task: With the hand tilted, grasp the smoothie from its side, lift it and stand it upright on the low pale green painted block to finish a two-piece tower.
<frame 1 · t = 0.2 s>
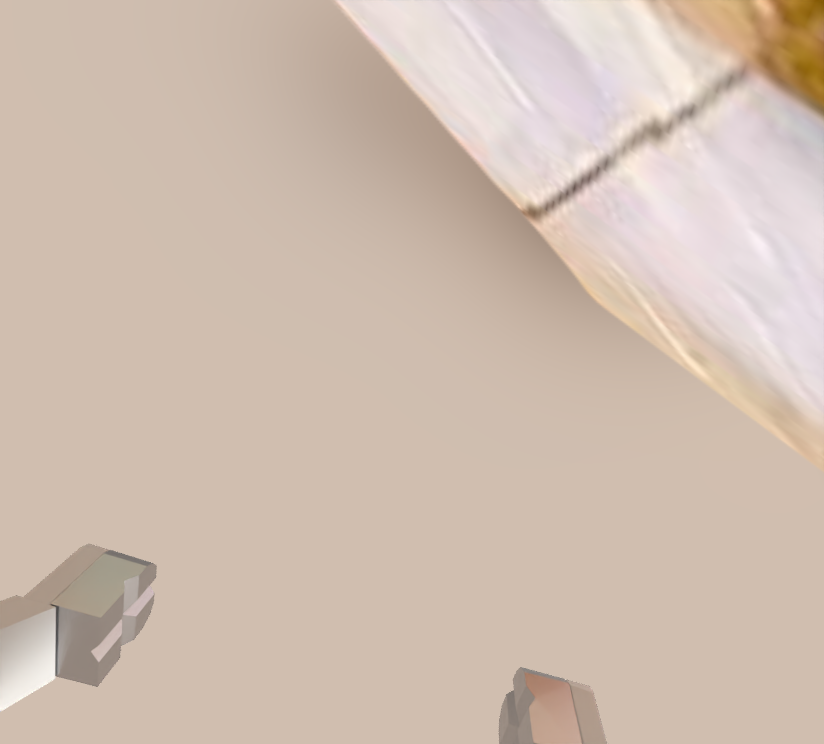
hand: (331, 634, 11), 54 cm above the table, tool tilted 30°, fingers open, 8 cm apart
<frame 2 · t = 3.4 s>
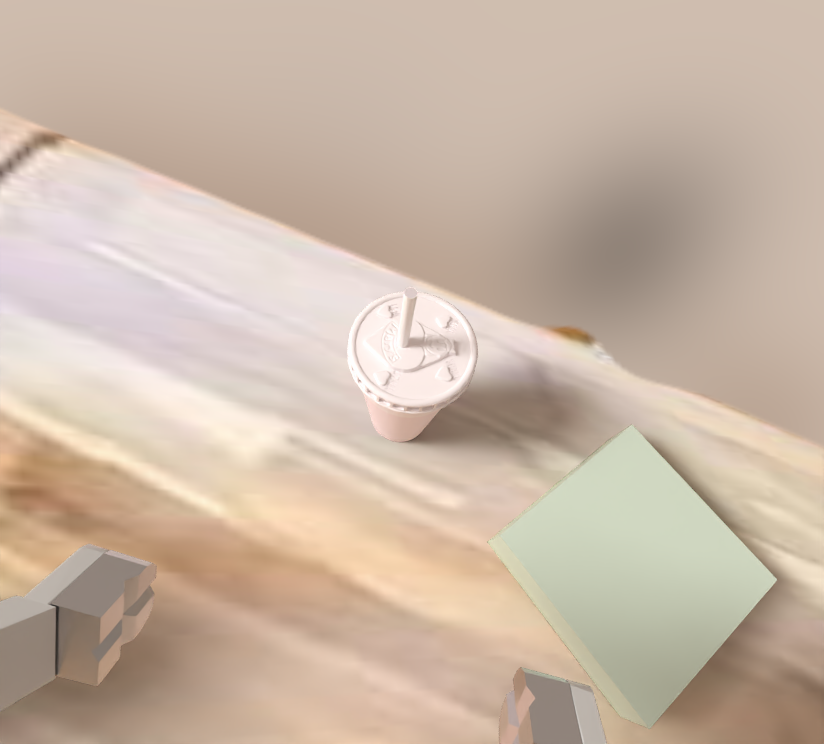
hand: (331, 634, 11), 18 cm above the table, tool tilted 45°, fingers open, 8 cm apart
pedestal: (614, 562, 30), on the table
smoothie: (399, 415, 33), on the table
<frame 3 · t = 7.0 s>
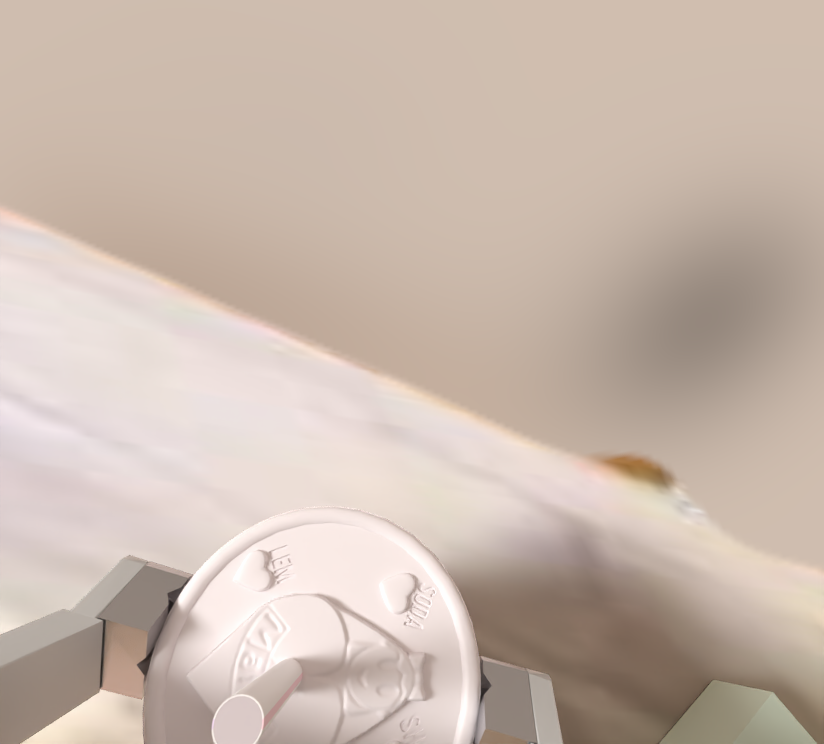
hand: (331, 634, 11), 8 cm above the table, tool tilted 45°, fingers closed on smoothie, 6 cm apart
smoothie: (338, 641, 18), on the table, touching gripper
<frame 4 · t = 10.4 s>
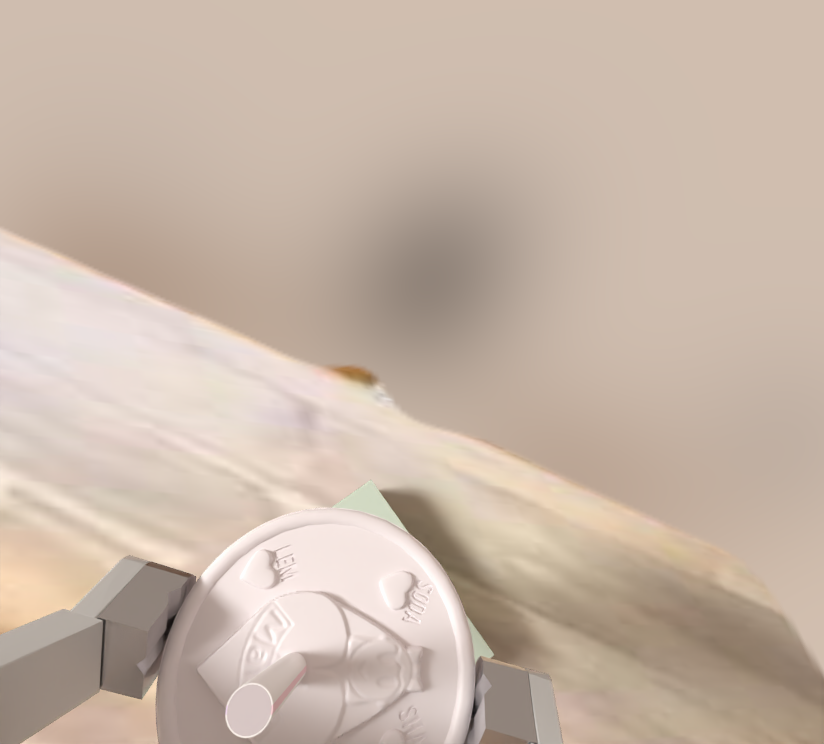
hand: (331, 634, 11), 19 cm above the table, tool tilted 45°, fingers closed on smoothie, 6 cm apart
pedestal: (345, 628, 28), on the table
smoothie: (339, 637, 19), point 10 cm above the table, touching gripper
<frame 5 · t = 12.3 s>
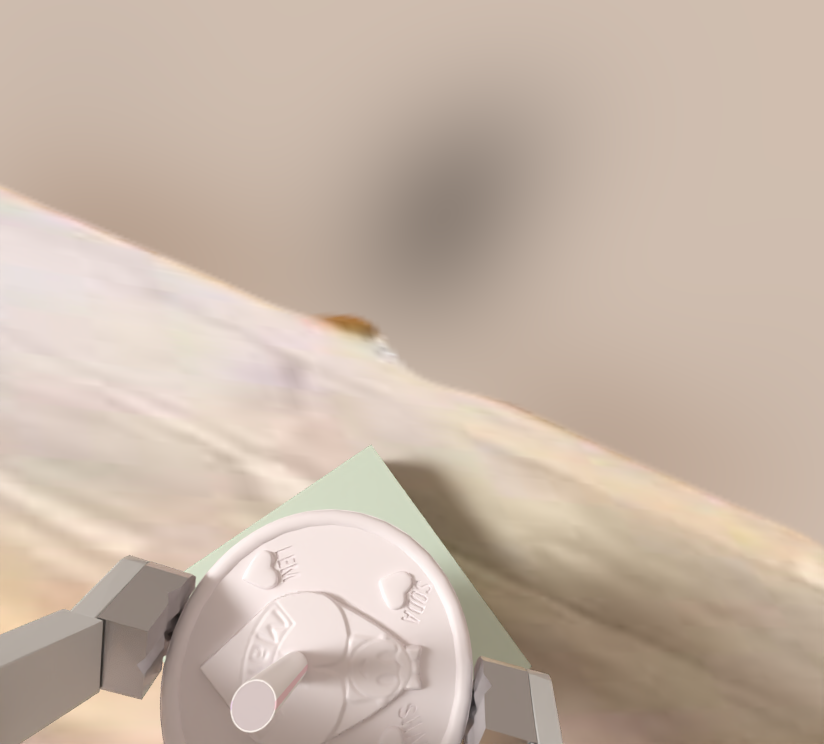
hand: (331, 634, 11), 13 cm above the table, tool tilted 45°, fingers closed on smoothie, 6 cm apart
pedestal: (338, 631, 22), on the table
smoothie: (339, 637, 19), point 3 cm above the table, touching gripper
when the fingers open (12 cm above the table, at t = 13.8 s): smoothie stays where it is, resting on pedestal.
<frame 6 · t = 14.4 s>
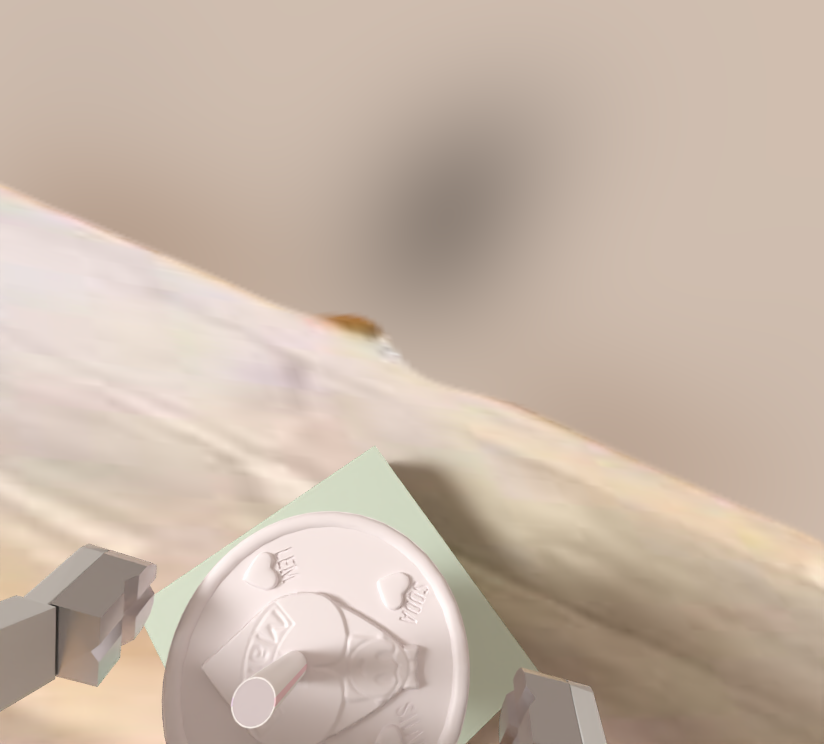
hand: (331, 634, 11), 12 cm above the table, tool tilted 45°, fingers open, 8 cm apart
pedestal: (341, 635, 22), on the table
smoothie: (339, 638, 19), point 3 cm above the table, touching pedestal
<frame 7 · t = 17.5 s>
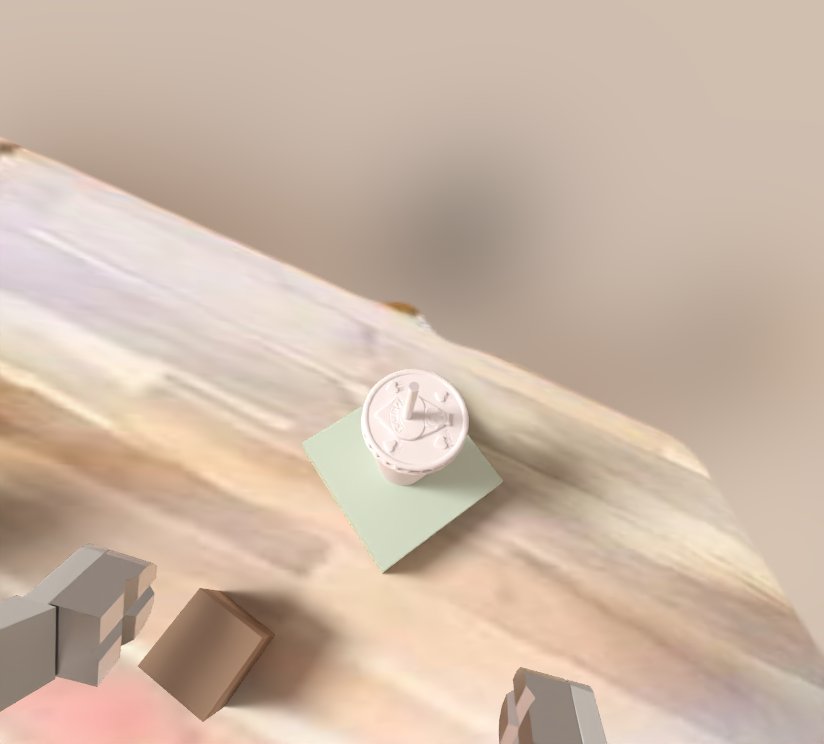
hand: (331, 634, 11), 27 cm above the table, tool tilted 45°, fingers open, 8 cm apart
pedestal: (399, 471, 40), on the table
smoothie: (402, 461, 38), point 3 cm above the table, touching pedestal
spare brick: (222, 646, 34), on the table
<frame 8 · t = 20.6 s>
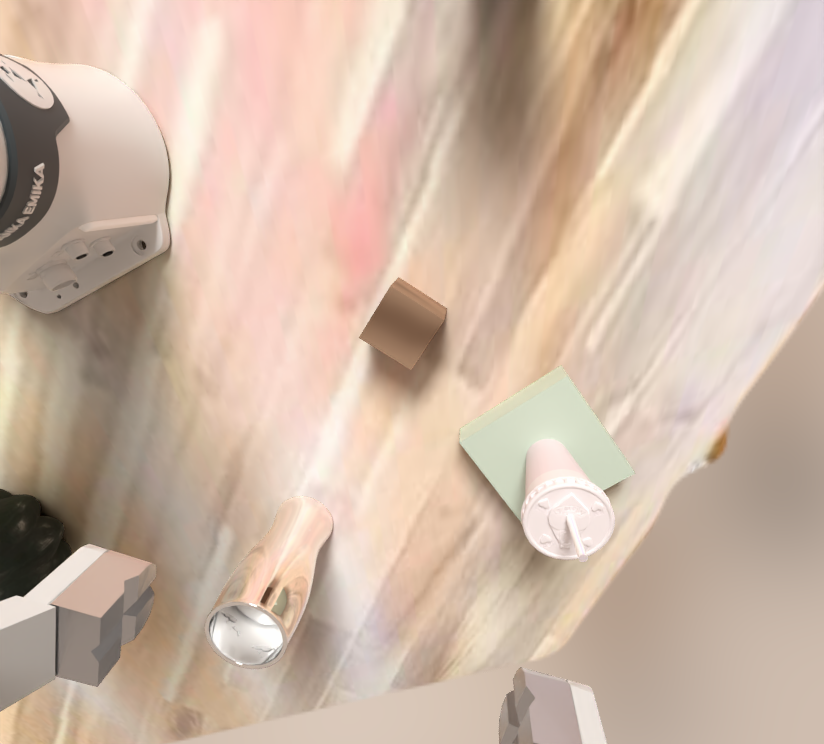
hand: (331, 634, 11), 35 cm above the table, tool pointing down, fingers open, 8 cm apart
squash: (29, 526, 57), on the table
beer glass: (305, 519, 52), on the table
pedestal: (541, 442, 47), on the table
smoothie: (546, 456, 44), point 3 cm above the table, touching pedestal
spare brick: (408, 316, 44), on the table
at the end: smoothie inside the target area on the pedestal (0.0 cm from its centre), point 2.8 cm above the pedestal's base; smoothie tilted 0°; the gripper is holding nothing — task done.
